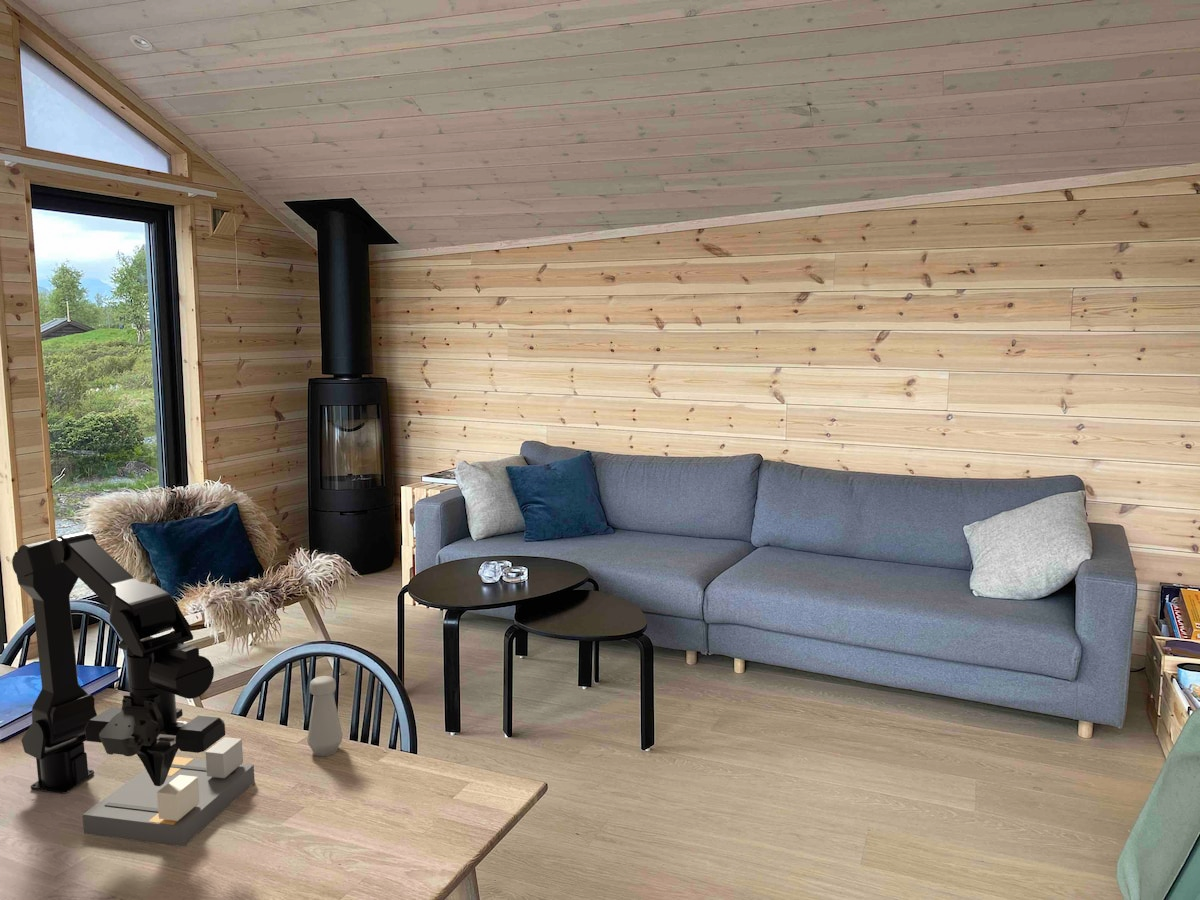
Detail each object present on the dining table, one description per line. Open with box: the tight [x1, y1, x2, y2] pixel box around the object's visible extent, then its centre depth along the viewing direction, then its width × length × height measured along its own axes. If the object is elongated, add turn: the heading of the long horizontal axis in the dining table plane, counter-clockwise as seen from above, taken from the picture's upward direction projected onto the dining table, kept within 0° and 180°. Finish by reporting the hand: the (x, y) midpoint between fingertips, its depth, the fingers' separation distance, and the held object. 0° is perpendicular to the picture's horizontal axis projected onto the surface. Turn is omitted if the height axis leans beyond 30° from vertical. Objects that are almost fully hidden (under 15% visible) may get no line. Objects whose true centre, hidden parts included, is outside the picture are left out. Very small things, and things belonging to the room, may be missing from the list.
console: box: [82, 755, 256, 847], centre depth 139 cm, size 16×18×3 cm
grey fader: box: [205, 736, 244, 778], centre depth 144 cm, size 3×5×4 cm, turn 169°
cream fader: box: [157, 775, 200, 821], centre depth 132 cm, size 3×5×4 cm, turn 169°
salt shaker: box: [307, 675, 343, 757], centre depth 156 cm, size 6×6×13 cm
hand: (159, 784), depth 132 cm, fingers closed
